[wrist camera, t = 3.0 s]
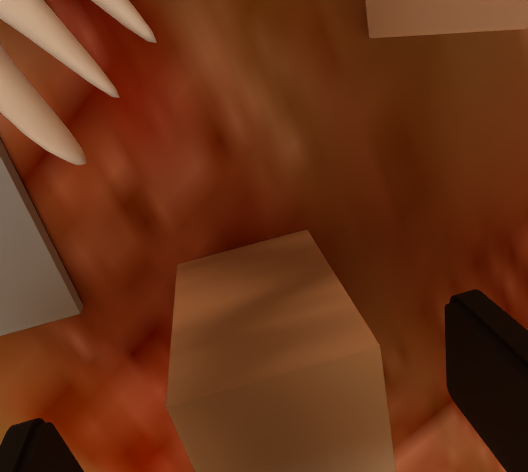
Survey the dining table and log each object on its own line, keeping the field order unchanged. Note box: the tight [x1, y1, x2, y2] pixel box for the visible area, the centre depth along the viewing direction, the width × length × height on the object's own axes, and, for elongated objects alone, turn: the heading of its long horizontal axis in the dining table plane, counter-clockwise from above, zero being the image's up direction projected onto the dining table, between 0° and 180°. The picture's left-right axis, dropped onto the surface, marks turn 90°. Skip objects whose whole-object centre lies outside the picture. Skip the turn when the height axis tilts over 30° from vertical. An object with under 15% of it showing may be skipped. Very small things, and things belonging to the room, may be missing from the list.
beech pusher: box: [166, 229, 396, 472], centre depth 11 cm, size 4×5×6 cm
